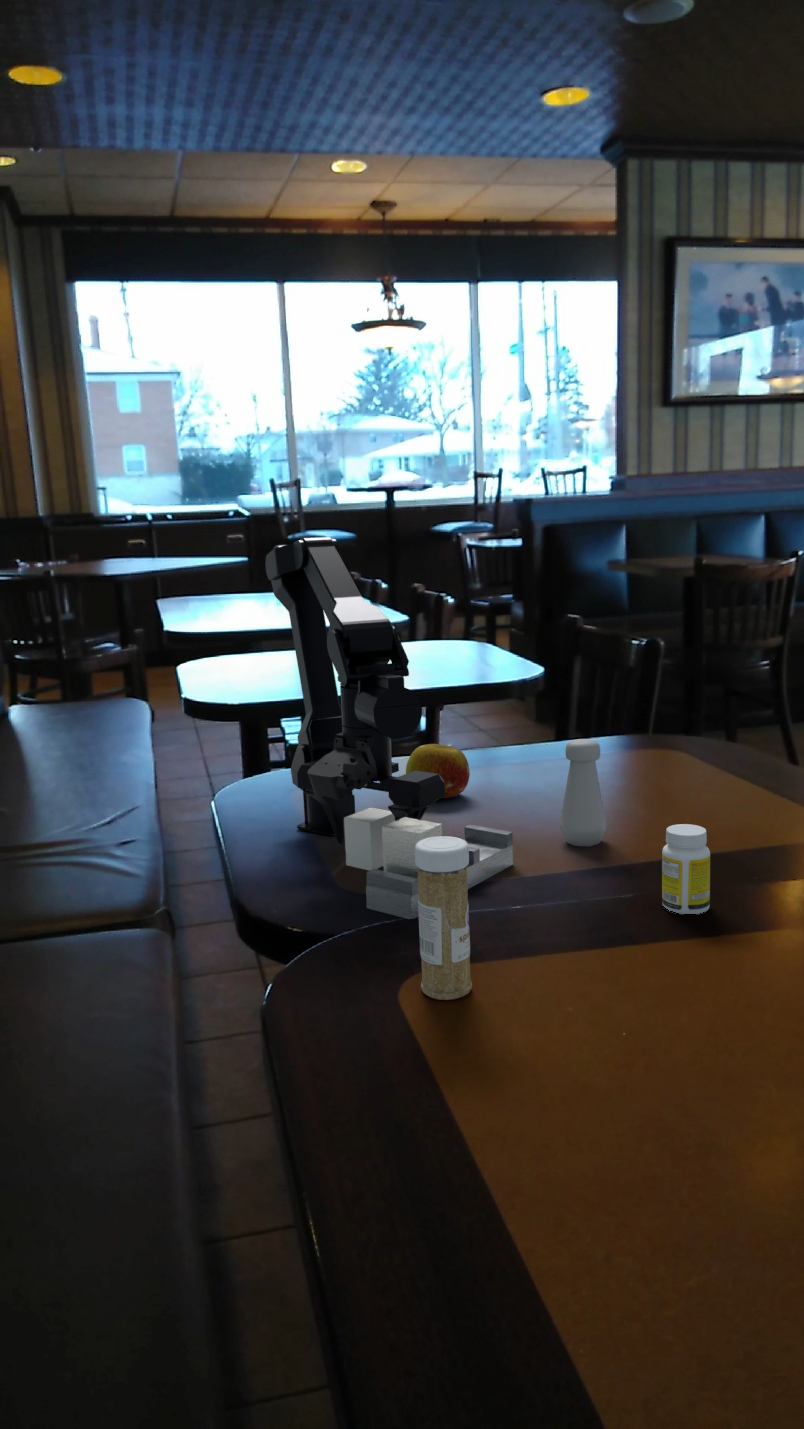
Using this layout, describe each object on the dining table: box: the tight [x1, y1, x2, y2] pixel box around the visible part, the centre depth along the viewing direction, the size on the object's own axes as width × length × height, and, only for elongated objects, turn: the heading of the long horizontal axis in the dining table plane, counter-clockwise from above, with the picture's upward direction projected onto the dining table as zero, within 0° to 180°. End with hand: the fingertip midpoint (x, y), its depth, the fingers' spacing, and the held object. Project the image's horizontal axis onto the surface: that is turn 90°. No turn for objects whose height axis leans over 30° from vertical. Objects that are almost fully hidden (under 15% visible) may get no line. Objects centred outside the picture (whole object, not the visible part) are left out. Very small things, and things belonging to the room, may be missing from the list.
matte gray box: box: [343, 806, 395, 871], centre depth 121 cm, size 5×5×6 cm
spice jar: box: [415, 835, 473, 1001], centre depth 86 cm, size 5×5×14 cm
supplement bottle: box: [661, 823, 711, 915], centre depth 103 cm, size 5×5×8 cm
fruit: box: [405, 743, 471, 799], centre depth 149 cm, size 10×9×8 cm
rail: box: [365, 817, 514, 920], centre depth 112 cm, size 6×20×8 cm, turn 143°
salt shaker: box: [559, 738, 607, 847], centre depth 125 cm, size 6×6×13 cm
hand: (371, 850), depth 122 cm, fingers open, 9 cm apart
